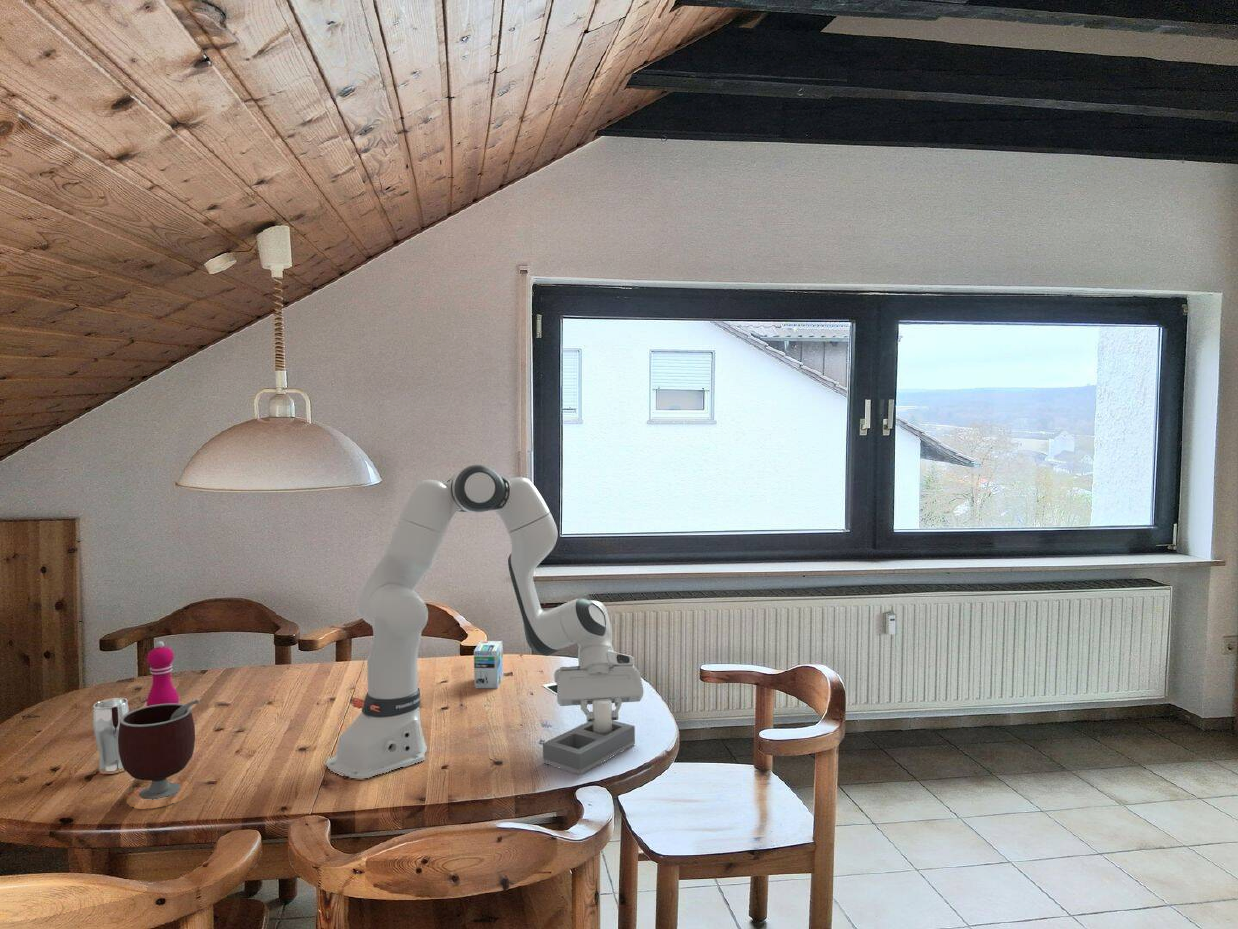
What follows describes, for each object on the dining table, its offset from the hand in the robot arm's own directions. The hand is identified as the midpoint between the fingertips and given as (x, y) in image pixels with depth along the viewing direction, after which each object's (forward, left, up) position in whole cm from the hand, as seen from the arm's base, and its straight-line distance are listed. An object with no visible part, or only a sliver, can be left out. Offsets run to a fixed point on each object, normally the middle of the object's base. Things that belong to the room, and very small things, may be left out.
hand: (602, 720), depth 203 cm
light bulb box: (+19, +55, -7) cm, 59 cm away
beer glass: (-71, +80, -7) cm, 108 cm away
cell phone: (+26, +32, -7) cm, 42 cm away
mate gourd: (-71, +58, -7) cm, 92 cm away
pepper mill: (-49, +103, -7) cm, 115 cm away
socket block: (-4, 0, -7) cm, 8 cm away
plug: (0, 0, -5) cm, 5 cm away
